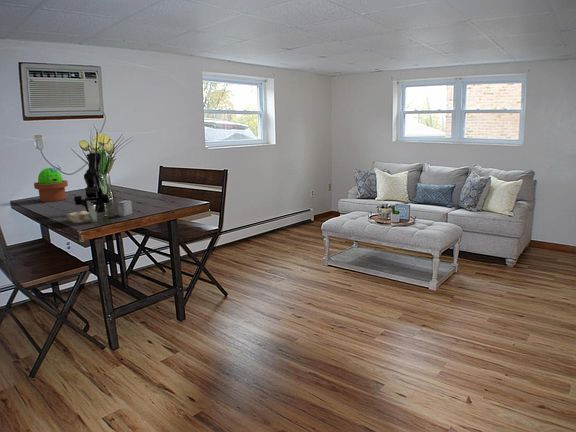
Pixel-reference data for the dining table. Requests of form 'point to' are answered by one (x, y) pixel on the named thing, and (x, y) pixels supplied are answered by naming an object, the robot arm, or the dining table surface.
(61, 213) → the dining table surface
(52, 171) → the potted cactus
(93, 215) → the tea tin
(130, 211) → the medicine box
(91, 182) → the robot arm
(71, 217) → the beige shallow bowl
